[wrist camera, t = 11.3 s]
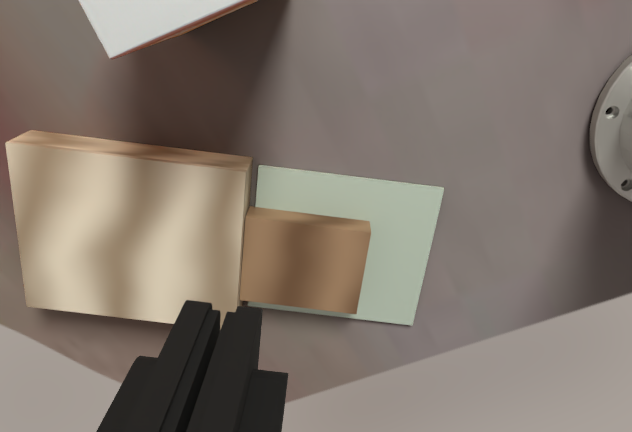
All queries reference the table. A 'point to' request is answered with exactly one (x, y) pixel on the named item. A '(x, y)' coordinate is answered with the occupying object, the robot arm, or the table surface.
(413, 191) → the mat
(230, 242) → the deck
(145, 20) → the small box
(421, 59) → the table surface
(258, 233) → the tile
